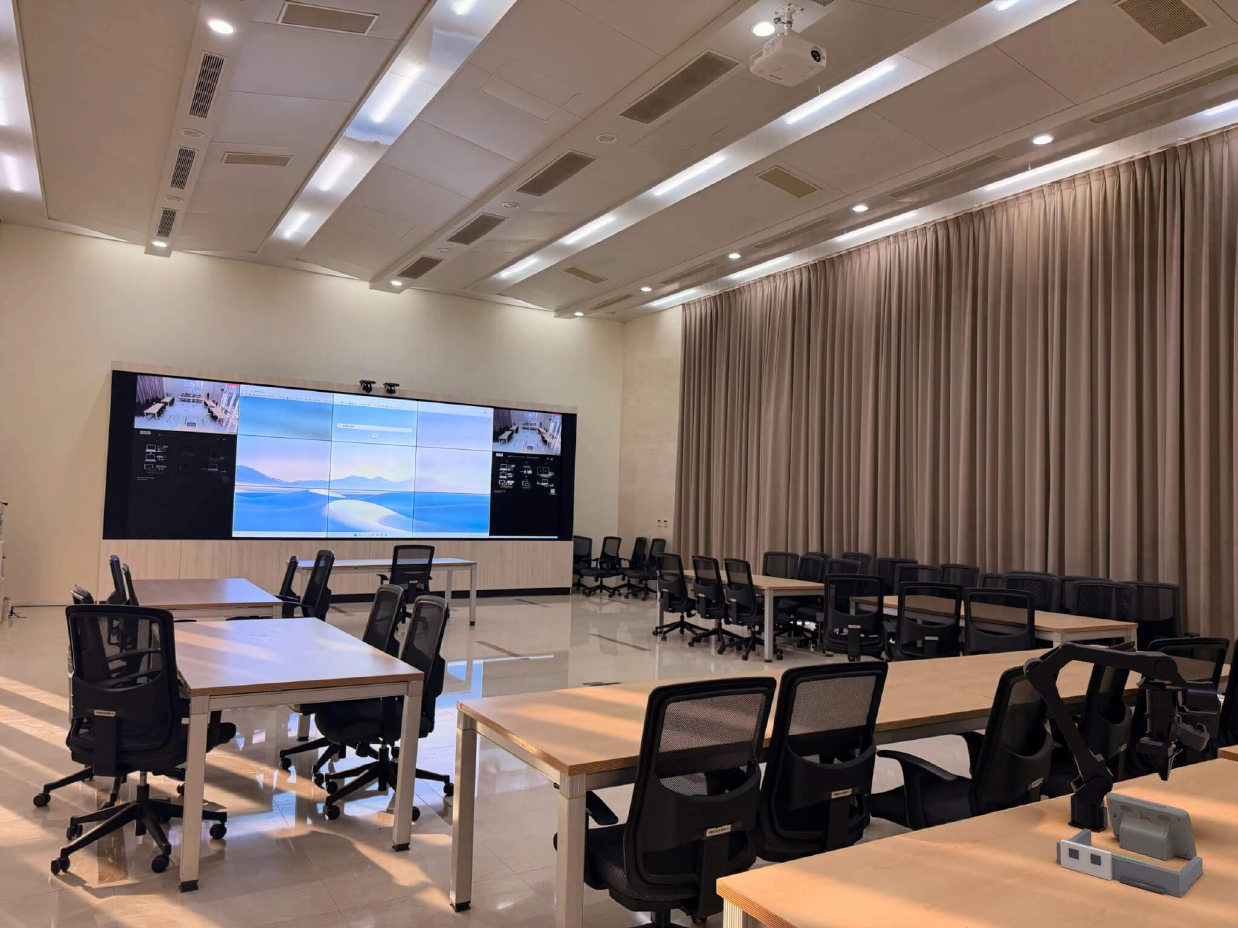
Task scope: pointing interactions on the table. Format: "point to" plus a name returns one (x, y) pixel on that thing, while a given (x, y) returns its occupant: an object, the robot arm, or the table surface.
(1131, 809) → the digital clock
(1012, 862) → the table surface
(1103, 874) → the gray bracket
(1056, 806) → the table surface
